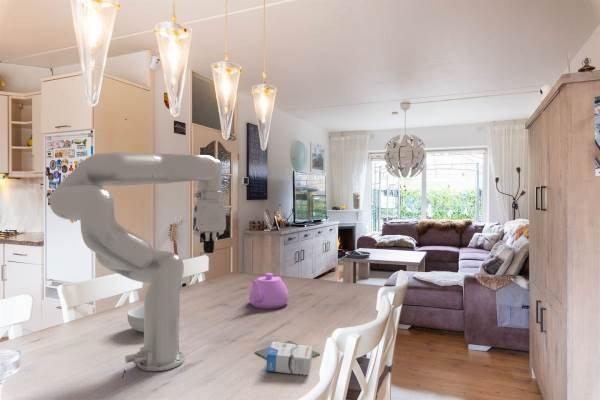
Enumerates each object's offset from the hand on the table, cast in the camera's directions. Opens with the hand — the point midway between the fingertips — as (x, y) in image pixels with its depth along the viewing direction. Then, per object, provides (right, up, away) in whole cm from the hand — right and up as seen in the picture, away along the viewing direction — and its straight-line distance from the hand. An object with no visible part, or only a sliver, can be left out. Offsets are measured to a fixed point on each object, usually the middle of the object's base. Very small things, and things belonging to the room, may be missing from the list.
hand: (208, 252), depth 127 cm
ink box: (+21, -26, -18) cm, 38 cm away
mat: (+26, -30, -10) cm, 41 cm away
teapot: (+16, -30, +45) cm, 56 cm away
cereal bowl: (-22, -29, +10) cm, 38 cm away
